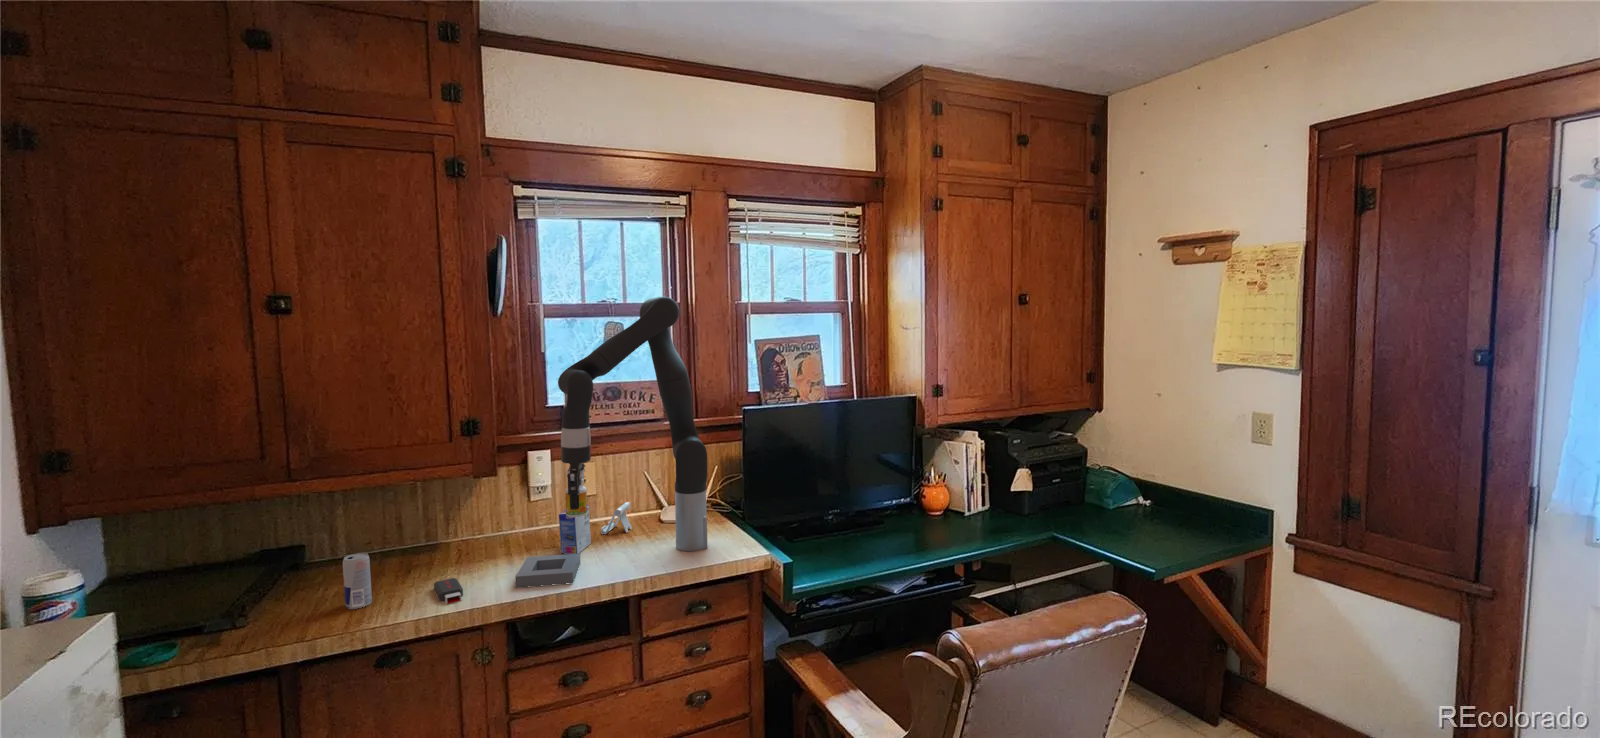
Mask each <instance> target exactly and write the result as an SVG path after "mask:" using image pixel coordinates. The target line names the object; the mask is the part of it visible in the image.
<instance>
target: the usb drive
mask: <svg viewBox="0 0 1600 738" xmlns="http://www.w3.org/2000/svg"><path fill="white" fill-rule="evenodd" d="M463 589H464V588H463V587H462V585H461V584H460V582H459V580H458V578H455V577H453V578H452V577H451V578H446V579H443V580H442V579H441V580H438V581H435V582H434V583H433V590H434V592H435V594H436V596H437V598H438V600H439V601H440V602H442V603H443V602H444V603H445V604H446V605H448V604H453V603H456V602H457V601H458V602H462V597H464V590H463ZM458 602H457V603H458Z"/></svg>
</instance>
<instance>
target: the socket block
mask: <svg viewBox="0 0 1600 738" xmlns="http://www.w3.org/2000/svg"><path fill="white" fill-rule="evenodd" d="M579 566H580V567H581V553H579V554H553V555H540V556H537V555H536V556H527V557H526V558H525V560H524V562H523V564H522V565H521V567H520V568H519V570H518V572H517V573H516V575H515V589H519V588H518V587H523V588H529V587H528V586H536V587H542V586H541V585H549V586H553V585H552V584H562V585H567V584H566V583H573V582H574V583H575V580H574V579H576V577H577V575H576V574H578V572H577V571H579V569H580V567H579ZM578 568H579V569H578ZM574 583H573V584H574Z"/></svg>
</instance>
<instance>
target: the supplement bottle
mask: <svg viewBox="0 0 1600 738" xmlns="http://www.w3.org/2000/svg"><path fill="white" fill-rule="evenodd" d="M578 483H579V482H578ZM583 484H585V478H584V479H583V478H582V486H581V487H580V491H579V492H580V494H579V508H578V509H570V496H569V495H568V487H566V489H565V510H566V516H568V517H581V516H584V515H586V513H587V505H588V501H587V499H588V497H587V494H588V493H587V490H588V489H587V487H586V486H584V485H583ZM572 490H576V487H572Z"/></svg>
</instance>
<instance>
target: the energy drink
mask: <svg viewBox="0 0 1600 738" xmlns="http://www.w3.org/2000/svg"><path fill="white" fill-rule="evenodd" d="M370 562H371V561H370V556H369V553H367V552H357V553H353V554H349V555H346V556H344V557H343V560H342V573H343V575H342V576H343V588H344V589H343V590H344V593H343V594H344V604H345V605H344V607H345V608H346V609H347V608H348V610H359V609H363V608H365V606H366V607H368V606H370V604H372V602H373V600H372V599H373V597H372V595H373V594H372V581H371V580H372V579H371V564H370ZM367 605H368V606H367ZM362 607H363V608H362ZM358 608H359V609H358Z"/></svg>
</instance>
